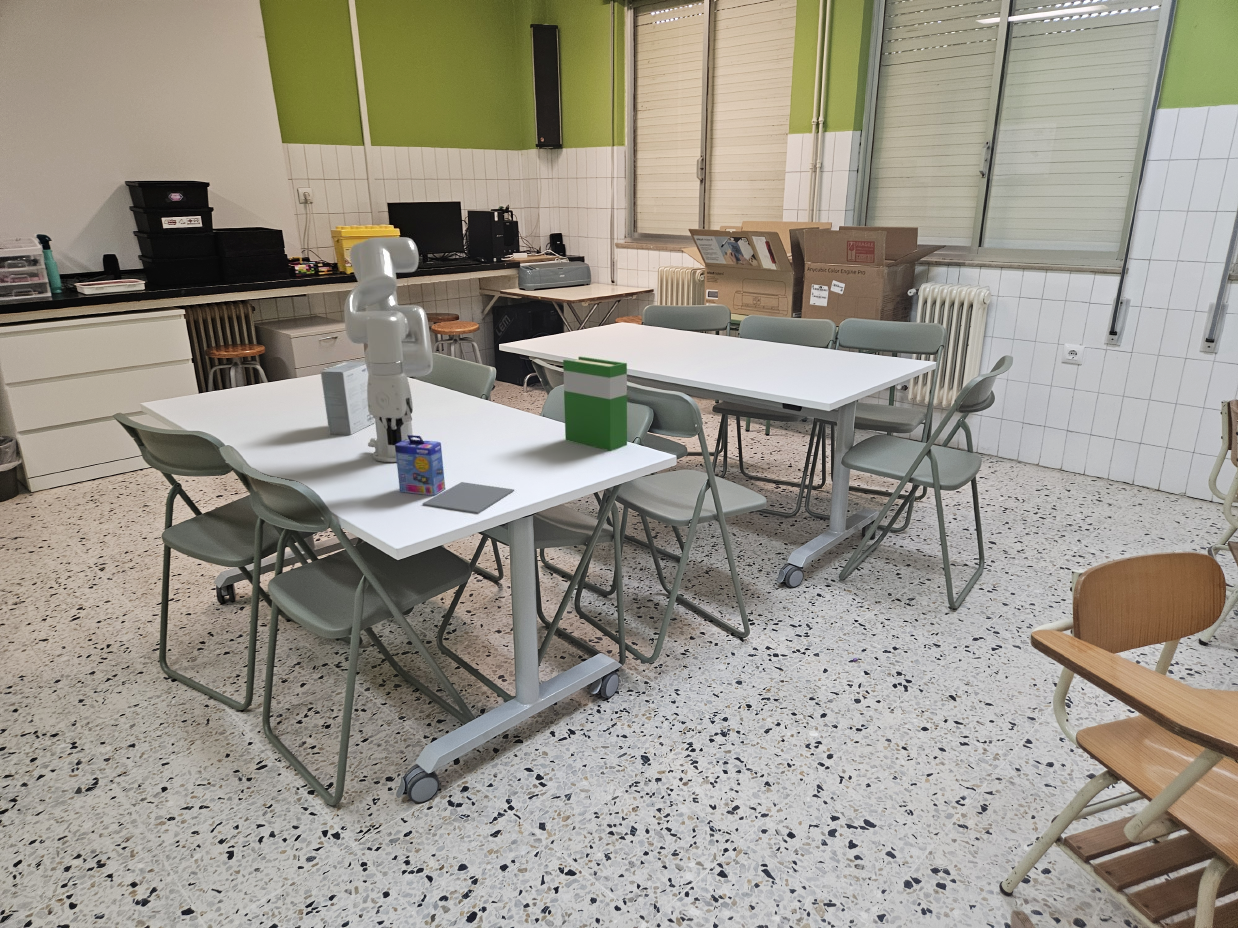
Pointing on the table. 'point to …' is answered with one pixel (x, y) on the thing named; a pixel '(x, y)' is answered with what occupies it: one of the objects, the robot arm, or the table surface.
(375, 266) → the robot arm
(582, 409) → the hardback book
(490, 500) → the mat
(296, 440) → the table surface
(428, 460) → the ink cartridge box
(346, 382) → the hard drive box
